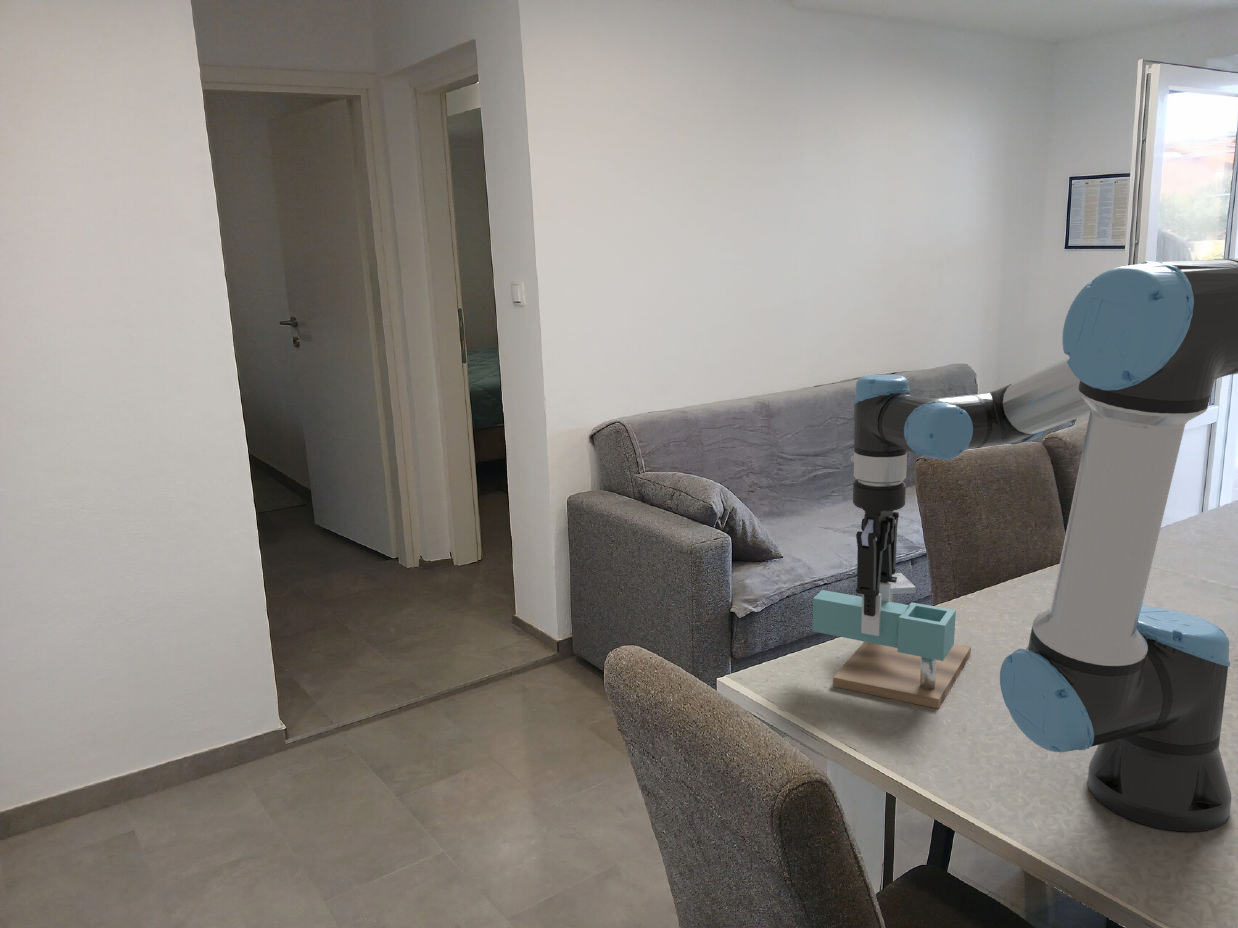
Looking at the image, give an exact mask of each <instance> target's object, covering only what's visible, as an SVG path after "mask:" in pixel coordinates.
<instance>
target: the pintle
mask: <svg viewBox="0 0 1238 928" xmlns="http://www.w3.org/2000/svg"><path fill="white" fill-rule="evenodd" d="M935 685H936V660H935V659H930V658H925V657H921V672H920V687H921V688H923V689H928V690H931V689H934V688H935Z"/></svg>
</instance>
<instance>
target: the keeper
mask: <svg viewBox="0 0 1238 928" xmlns="http://www.w3.org/2000/svg"><path fill="white" fill-rule="evenodd" d="M892 576H893V577H897V581H896V583H893V582H889V584H891V593H890V602H894V595H900V594H901V595H903V594H916V592H917V587H916V586H915V584H913V583H912V581H910V580H909V579H908V578H907V577H906V576H905V575H904V574H903V573H902V572H895V574H894V575H893V574H892Z"/></svg>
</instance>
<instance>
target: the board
mask: <svg viewBox="0 0 1238 928" xmlns="http://www.w3.org/2000/svg"><path fill="white" fill-rule="evenodd" d="M897 650H898V648H894V647H889V646H884V645H879V644H874V643H869V642H864V641H862V644H861V645H859V647H858V648H857V649H856V650H855V651H854V653H852V654H851V656H850V657H849V658H848V660H847V661H846V662H844V664H843V665H842V666H841V668H840V669H839V670H838V671H837V672H836V673H835V675H834V676H832V687H833V688H834V687H835V688H838V689H839V688H840V689H844V690H849V691H853V692H858V693H862V694H867V695H872V696H877V697H881V698H886V699H890V700H895V701H900V702H905V703H909V704H914V705H920V706H923V707H929V708H933V709H936V710H937V709H938V710H939V709H940V707H941V705H942V704H943V703H944V700H945V698H946V697H947V695H948V694H949V692H950V691H951V689H952V687H953V686H954V684H955V682H956V680H957V679H958V677H959V675H960V673H961V672H962V670H963V669H964V667H965V666H966V663H967V662H968V660H969V659H970V657H971V651H972V646H969V645H963V644H957V643H954V645H953V646H952V648H951V650H950V651H949V653H948V654H947V656H946V657H945V659H944V660H943V661H940V660H936V685H935V688H934V689H931V690H928V689H923V688H921V687H920V672H921V657H920V656H915V655H910V654H905V653H900V652H897Z"/></svg>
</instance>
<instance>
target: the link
mask: <svg viewBox="0 0 1238 928" xmlns="http://www.w3.org/2000/svg"><path fill="white" fill-rule="evenodd" d="M956 613H957V610H956V609H953V608H952V609H951V608H945V607H940V606H933V605H928V604H923V603H918V602H910V603H909V604H904V603H899V602H894V601H893V602H888V601H882V600H881V631H880V635H879V636H875V635H870V634H864V633H861V622H862V596H859V595H853V594H846V593H843V592H836V591H832V590H831V591H830V590H824V589H822V590H820V591H819V592H818V593H817V594H816V595H815V596H814V597H813V598H812V632H815V633H819V634H823V635H824V634H825V635H831V636H835V637H839V638H843V639H844V638H845V639H850V640H855V641H859V642H860V641H861V642H869V643H874V644H879V645H884V646H889V647H894V648H898V650H897V652H900V653H905V654H910V655H915V656H920V657H925V658H930V659H935V660H940V661H943V660H944V659H945V657H946V656H947V654H948V653H949V651H950V650H951V648H952V646H953V645H954V644H955V634H956V633H955V632H956Z"/></svg>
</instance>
